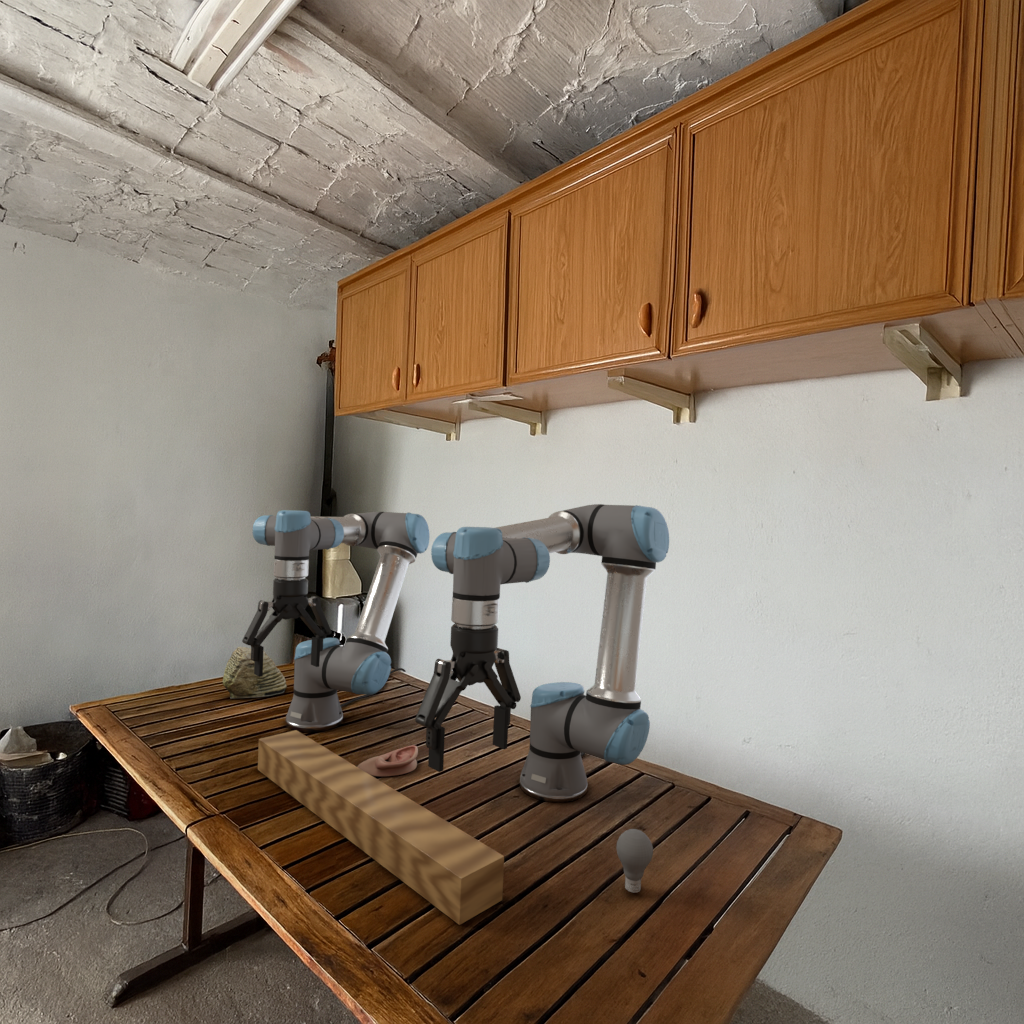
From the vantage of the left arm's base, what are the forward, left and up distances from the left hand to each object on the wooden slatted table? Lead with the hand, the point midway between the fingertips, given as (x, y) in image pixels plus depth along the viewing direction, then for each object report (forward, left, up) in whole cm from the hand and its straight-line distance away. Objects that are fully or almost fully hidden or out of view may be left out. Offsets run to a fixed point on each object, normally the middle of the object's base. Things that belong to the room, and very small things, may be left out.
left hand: (287, 670), depth 145 cm
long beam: (+3, +31, -23) cm, 39 cm away
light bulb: (-14, +82, -23) cm, 86 cm away
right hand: (+7, +62, 0) cm, 63 cm away
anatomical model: (-18, +16, -23) cm, 33 cm away
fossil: (-24, -55, -23) cm, 64 cm away
